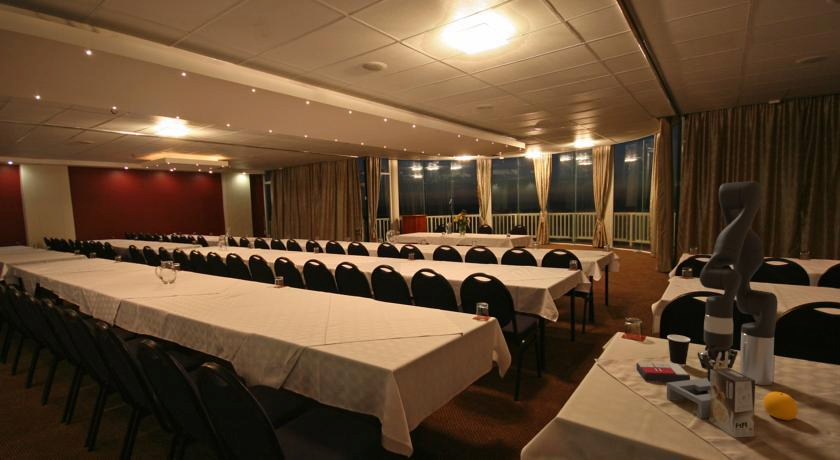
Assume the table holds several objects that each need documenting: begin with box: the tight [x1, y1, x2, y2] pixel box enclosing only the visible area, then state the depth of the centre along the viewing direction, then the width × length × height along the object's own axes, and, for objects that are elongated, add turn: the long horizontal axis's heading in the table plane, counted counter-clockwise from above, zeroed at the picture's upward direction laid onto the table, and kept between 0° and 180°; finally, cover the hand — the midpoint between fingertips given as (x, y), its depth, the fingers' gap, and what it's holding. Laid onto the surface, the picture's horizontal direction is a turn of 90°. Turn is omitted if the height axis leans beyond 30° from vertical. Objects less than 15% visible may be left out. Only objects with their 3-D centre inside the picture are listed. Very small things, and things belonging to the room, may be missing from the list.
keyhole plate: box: [666, 377, 710, 419], centre depth 130 cm, size 18×13×6 cm
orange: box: [762, 391, 799, 421], centre depth 122 cm, size 8×8×8 cm
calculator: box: [635, 361, 691, 384], centre depth 152 cm, size 11×4×15 cm
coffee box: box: [708, 368, 756, 438], centre depth 116 cm, size 9×6×16 cm
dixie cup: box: [666, 334, 691, 368], centre depth 163 cm, size 8×8×11 cm
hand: (716, 381), depth 130 cm, fingers closed on peg, 3 cm apart
